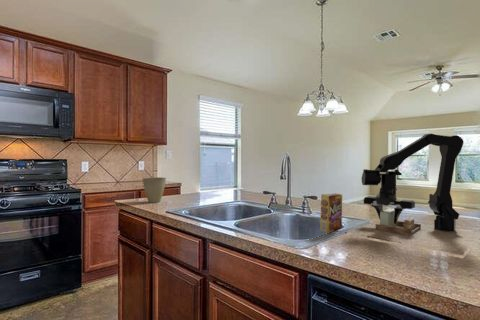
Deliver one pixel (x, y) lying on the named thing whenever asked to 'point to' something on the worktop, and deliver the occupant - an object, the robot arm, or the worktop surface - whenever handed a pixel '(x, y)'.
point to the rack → (399, 228)
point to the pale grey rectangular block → (387, 217)
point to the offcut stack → (409, 224)
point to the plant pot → (154, 188)
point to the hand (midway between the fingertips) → (388, 222)
